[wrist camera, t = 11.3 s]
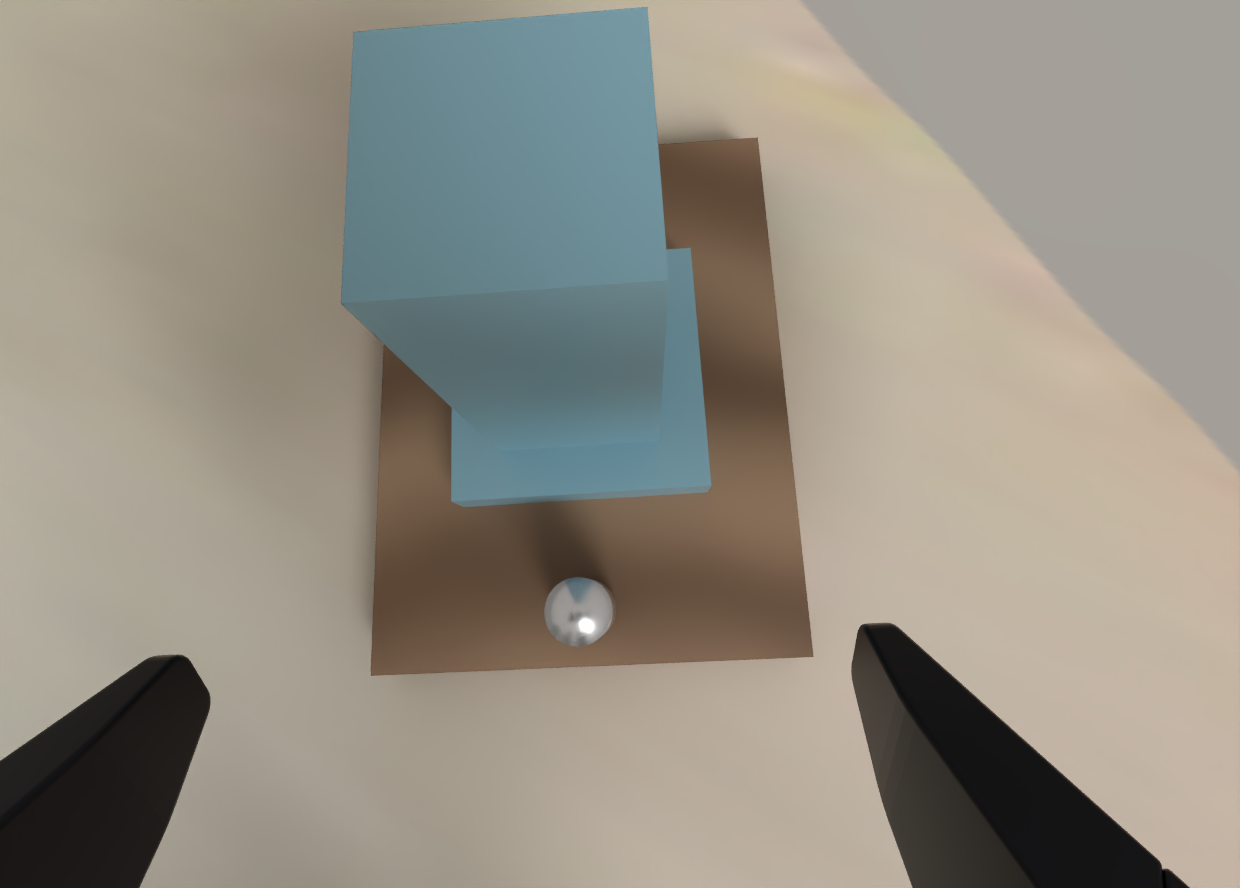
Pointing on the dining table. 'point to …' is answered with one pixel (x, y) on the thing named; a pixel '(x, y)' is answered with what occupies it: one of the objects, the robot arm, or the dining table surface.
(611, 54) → the stepped blue block
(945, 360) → the dining table surface
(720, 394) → the walnut base plate
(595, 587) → the dowel pins
